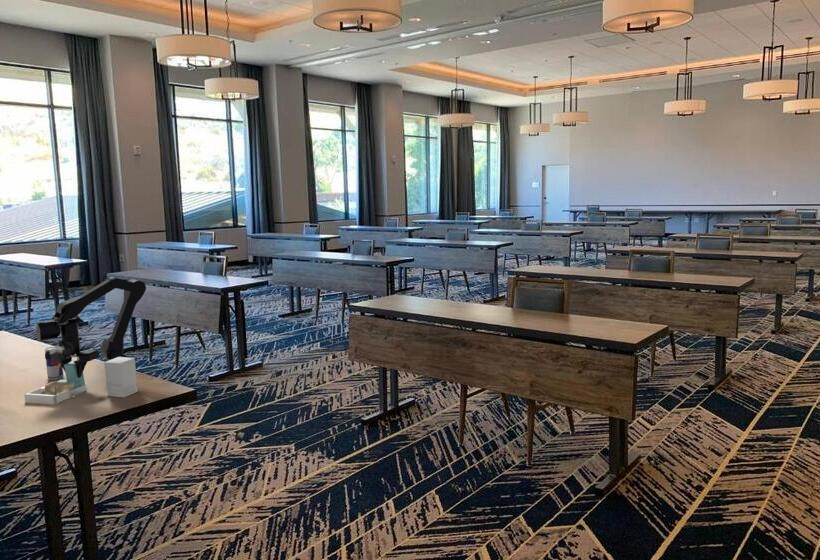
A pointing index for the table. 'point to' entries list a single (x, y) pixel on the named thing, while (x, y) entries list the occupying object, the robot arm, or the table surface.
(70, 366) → the teal boot-shaped block
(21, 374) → the table surface
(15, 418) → the table surface
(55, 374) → the energy drink
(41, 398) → the tray
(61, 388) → the beige cube
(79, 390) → the slot rails
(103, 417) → the table surface
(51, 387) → the tan cube
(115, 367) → the supplement box
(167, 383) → the table surface
